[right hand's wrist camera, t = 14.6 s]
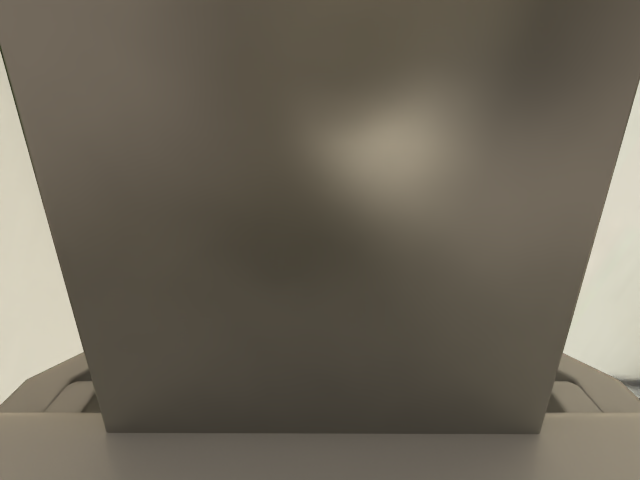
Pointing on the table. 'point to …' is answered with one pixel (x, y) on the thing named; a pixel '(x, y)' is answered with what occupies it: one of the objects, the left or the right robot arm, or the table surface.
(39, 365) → the table surface
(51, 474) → the right robot arm
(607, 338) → the table surface
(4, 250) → the table surface
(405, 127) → the bar
